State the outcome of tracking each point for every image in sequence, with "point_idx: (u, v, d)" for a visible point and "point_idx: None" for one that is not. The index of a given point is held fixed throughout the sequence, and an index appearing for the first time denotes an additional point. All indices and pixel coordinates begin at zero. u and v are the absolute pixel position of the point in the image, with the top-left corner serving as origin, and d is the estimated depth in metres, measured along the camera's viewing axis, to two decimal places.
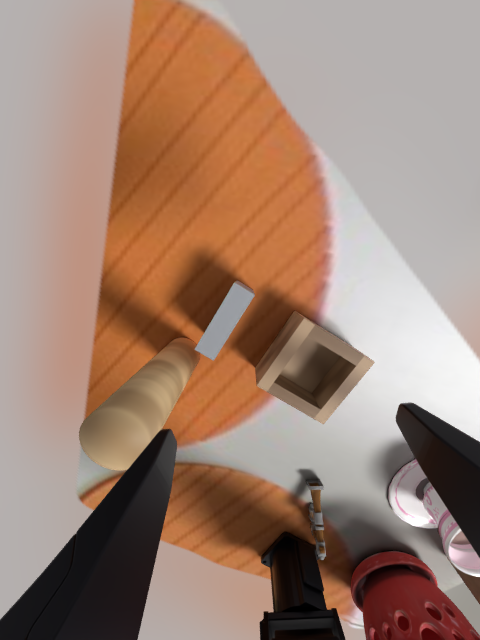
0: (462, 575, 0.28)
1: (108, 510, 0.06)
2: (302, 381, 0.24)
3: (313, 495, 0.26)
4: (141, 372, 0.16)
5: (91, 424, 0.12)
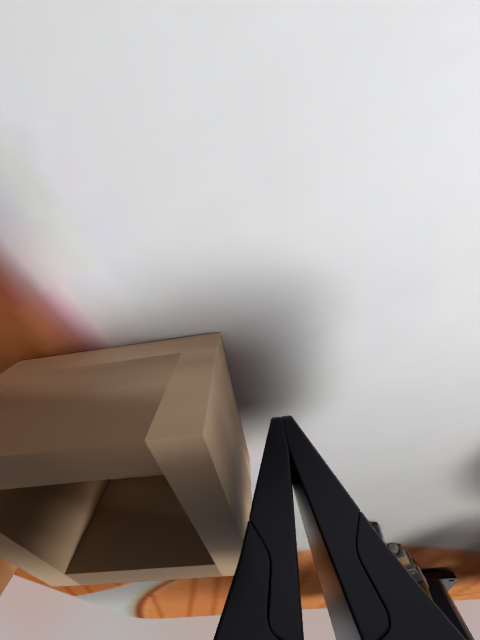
0: None
1: (271, 496, 0.05)
2: None
3: None
4: None
5: None
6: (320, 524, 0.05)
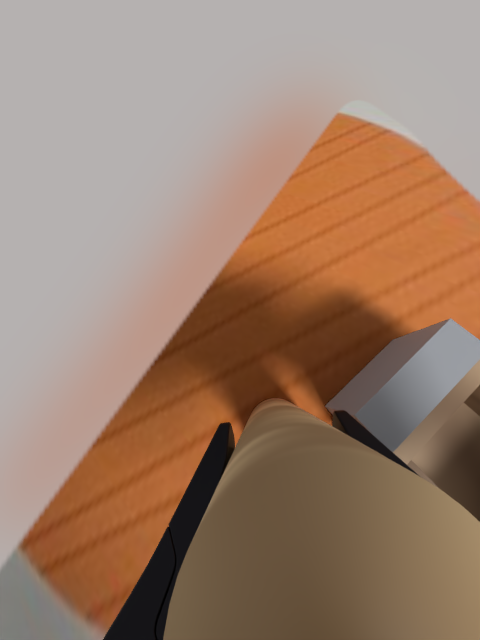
0: None
1: (195, 503, 0.06)
2: None
3: None
4: (294, 411, 0.07)
5: (270, 510, 0.03)
6: None
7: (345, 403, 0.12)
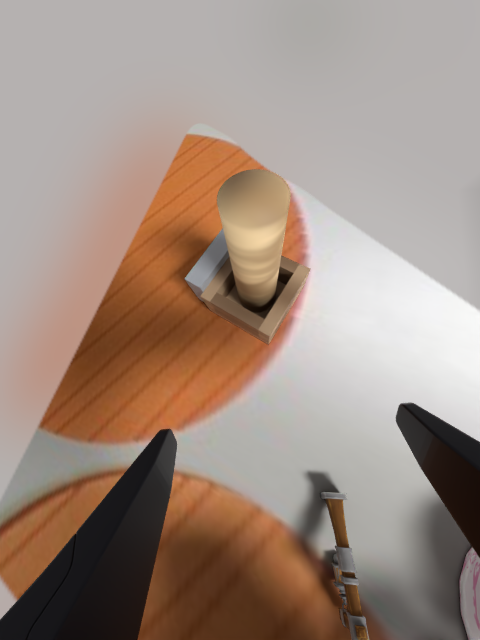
0: None
1: (108, 510, 0.06)
2: None
3: (332, 513, 0.17)
4: None
5: (238, 179, 0.12)
6: None
7: None
